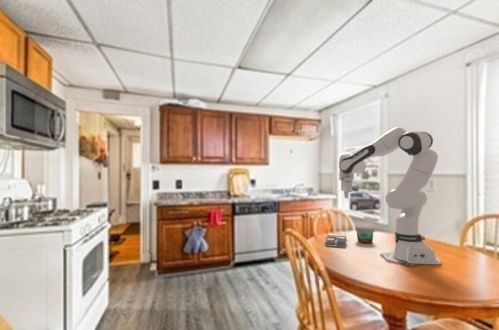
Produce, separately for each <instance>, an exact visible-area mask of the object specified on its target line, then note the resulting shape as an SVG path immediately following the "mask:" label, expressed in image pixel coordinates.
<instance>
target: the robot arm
mask: <svg viewBox="0 0 499 330" xmlns="http://www.w3.org/2000/svg"><path fill="white" fill-rule="evenodd" d="M433 142H434V138H433V136H432V134H430V133H428V132H426V131H417V130H416V131H415V130H414V131H408V132H407V130H406V129H404V128H403V127H395V128H392V129H390V130H389V131H387V132H385V133H384V134H383V135H381V136H379V138H377V139H376V140H374V141H372V143H370V144H368V145H366V146H364V147H363V148H362V149H360V150H359V151H357V152H355V153H354V154H351V153H346V154H341V155H340V156H339V160H338V168H339V173H338V174H339V175H338V177H339V179H338V180H339V181H340V190H341V191H343V195H344V198H345V199H348V198H349V193H352V192H353V181H354V174H360V173H363V172H364V171H365V170H366V169H367V163H366V161H365V160H367V159H369V158H376V157H384V156H388V155H389V154H391V153H393V152H395V151H397V149H401V150H402V151H403V152H404V153H406V154H408V155H409V156H410V157H411V156H412V160H411V162H410V164H409V167H408V169H407V171H406V173H405V174H404V176H403V178H402V179H401V181H400V182H399V183H398V184H397V185H396V186H395V187H394V188H393V189H391V190H390V191H389V192H387V193H386V195H385V203H386V205H387V206H388V207H389V208H392V209H395V210H400V212H399V214H398V215H397V216H396V217H395V232H394V242H395V244H394V245H395V246H394V252H393V254H392V255H393V256H392V257H393V258H395V259H397V260H399V261H402V260H403V262H405V261H406V263H407V264H416V265H417V264H418V265H419V264H420V265H437V266H438V265H441V264H442V261H441V259H440V258H438V257H437V255H436V253H435V250H434V249H433V248H432V247H431V246H430V245H428V244H427V243H426V242H424V241H425V240H426V237H425V236H424V235H421V234H420V233H419V221H420V219H419V218H420V215H421V211H422V210H423V207H424V206H425V205H426V203H427V201H428V197H427V194H426V193H425V192H424V191H423V190H422V189H423V188H425V187H426V186H427V184H428V183H429V180H430V178H431V176H432V175H433V173H434V170H435V168H436V166H437V162H438V158H439V155H438V153H437V152H436V151H434V150H433V149H430V148H431V147H432V146H433Z"/></svg>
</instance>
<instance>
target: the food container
mask: <svg viewBox="0 0 499 330" xmlns="http://www.w3.org/2000/svg"><path fill="white" fill-rule="evenodd" d="M355 232H356V238H357V242H358V243H361V244H364V245H365V244H367V245H370V244H373V237H374V233H375V228H374V227H373V228H365V227H362V228H360V227H355Z"/></svg>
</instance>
